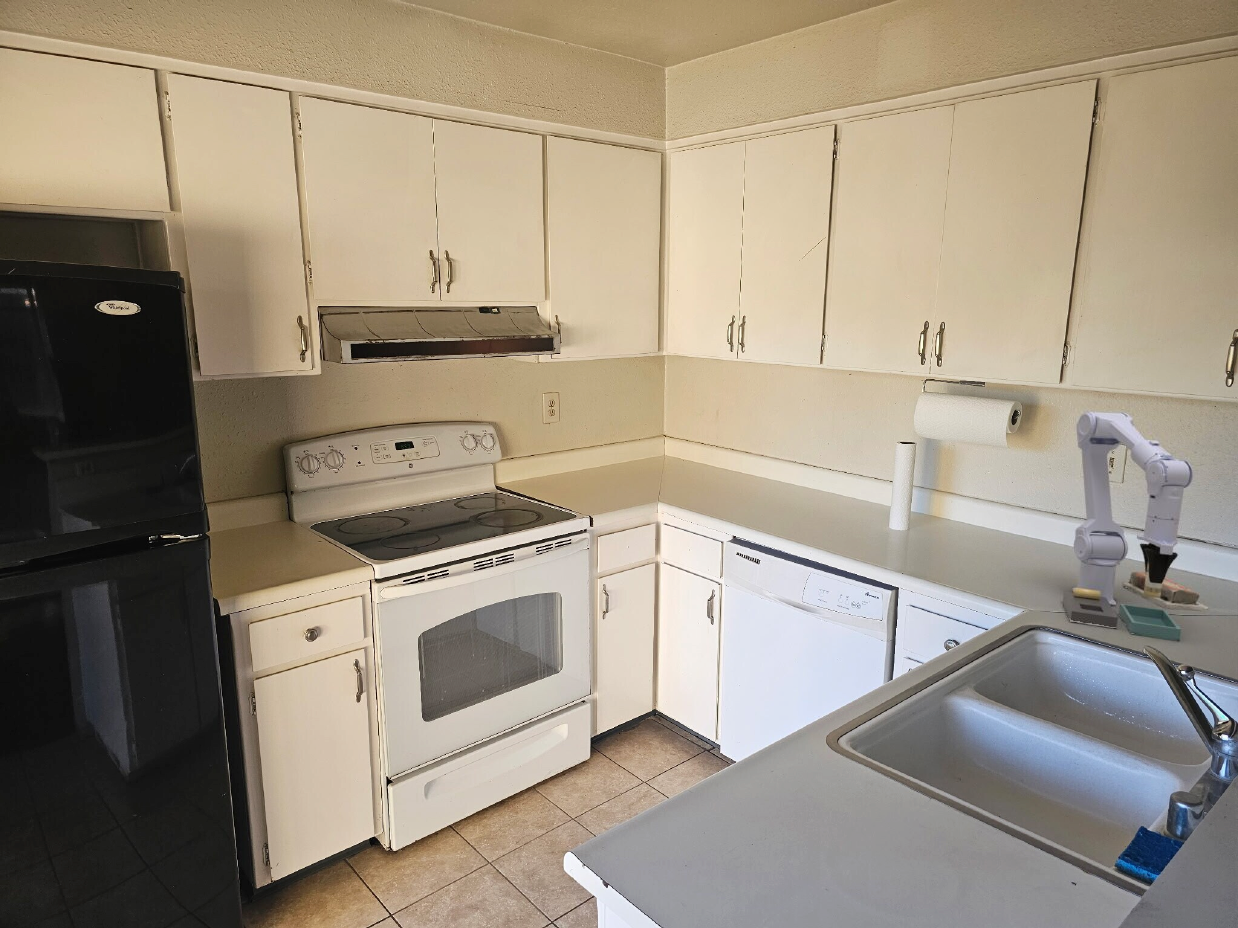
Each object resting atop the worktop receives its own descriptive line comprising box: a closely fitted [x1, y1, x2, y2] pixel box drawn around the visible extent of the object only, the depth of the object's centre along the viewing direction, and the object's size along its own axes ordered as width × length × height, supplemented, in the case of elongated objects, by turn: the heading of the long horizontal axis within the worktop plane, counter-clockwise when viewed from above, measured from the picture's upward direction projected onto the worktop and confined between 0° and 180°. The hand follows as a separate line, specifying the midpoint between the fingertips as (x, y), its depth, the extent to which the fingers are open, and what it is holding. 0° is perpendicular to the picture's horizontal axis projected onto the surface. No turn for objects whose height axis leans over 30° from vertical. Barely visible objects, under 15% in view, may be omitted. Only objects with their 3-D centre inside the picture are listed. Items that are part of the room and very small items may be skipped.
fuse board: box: [1062, 587, 1119, 629], centre depth 178 cm, size 16×8×4 cm, turn 157°
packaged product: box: [1121, 571, 1210, 611], centre depth 194 cm, size 18×5×10 cm
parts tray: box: [1118, 603, 1182, 642], centre depth 172 cm, size 14×8×2 cm, turn 157°
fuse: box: [1143, 564, 1162, 598], centre depth 170 cm, size 3×3×7 cm
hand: (1153, 580), depth 170 cm, fingers closed on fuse, 3 cm apart
